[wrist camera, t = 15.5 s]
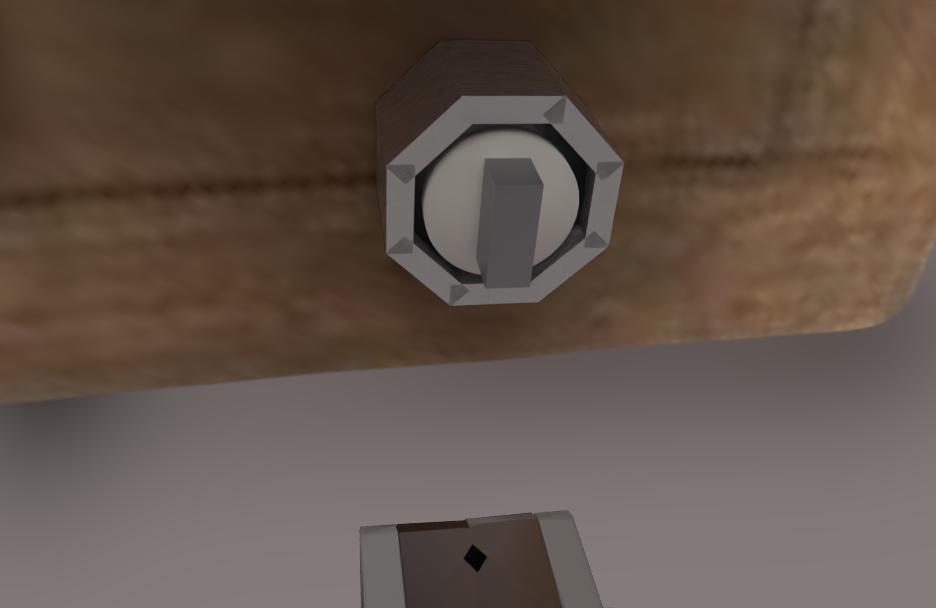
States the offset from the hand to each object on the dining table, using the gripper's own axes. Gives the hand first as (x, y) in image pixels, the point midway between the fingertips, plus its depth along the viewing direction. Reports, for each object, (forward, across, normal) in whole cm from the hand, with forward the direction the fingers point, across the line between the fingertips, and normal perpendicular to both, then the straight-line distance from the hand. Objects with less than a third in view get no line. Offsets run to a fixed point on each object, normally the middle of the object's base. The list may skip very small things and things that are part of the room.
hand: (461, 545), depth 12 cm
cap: (+25, -6, +8) cm, 27 cm away
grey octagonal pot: (+31, -6, +8) cm, 33 cm away
